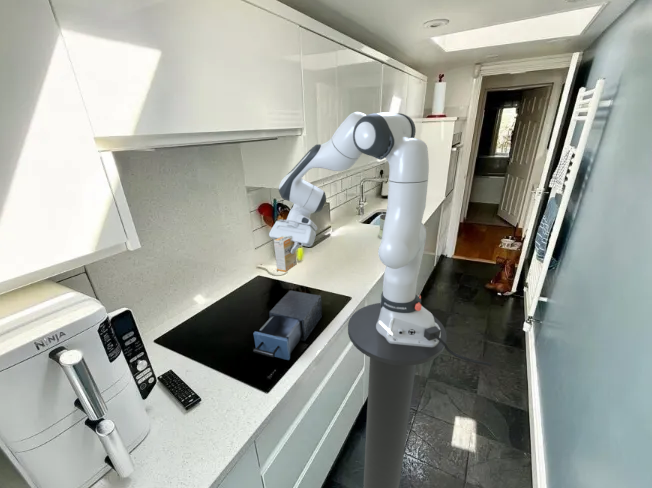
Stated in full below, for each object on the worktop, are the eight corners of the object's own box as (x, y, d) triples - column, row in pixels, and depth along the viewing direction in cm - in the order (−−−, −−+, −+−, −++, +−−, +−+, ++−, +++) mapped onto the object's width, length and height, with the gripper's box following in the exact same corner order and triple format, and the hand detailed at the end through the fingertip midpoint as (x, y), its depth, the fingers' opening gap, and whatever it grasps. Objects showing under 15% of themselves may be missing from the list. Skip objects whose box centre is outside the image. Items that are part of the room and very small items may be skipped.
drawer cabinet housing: (305, 341, 110) (303, 319, 106) (271, 333, 115) (269, 312, 110) (321, 316, 124) (321, 295, 119) (291, 310, 128) (289, 290, 124)
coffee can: (387, 233, 210) (388, 213, 204) (398, 237, 202) (399, 216, 196) (375, 236, 205) (376, 215, 199) (386, 240, 197) (387, 219, 191)
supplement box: (286, 272, 122) (283, 241, 116) (276, 270, 124) (273, 240, 119) (297, 264, 129) (295, 235, 123) (288, 262, 131) (285, 233, 125)
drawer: (281, 370, 96) (279, 351, 93) (248, 361, 100) (244, 342, 97) (307, 332, 113) (306, 314, 109) (278, 325, 117) (276, 308, 114)
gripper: (273, 215, 128) (260, 244, 125) (314, 220, 118) (301, 253, 115) (281, 222, 134) (269, 250, 131) (321, 228, 124) (309, 259, 121)
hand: (284, 252), depth 123 cm, fingers closed on supplement box, 5 cm apart
